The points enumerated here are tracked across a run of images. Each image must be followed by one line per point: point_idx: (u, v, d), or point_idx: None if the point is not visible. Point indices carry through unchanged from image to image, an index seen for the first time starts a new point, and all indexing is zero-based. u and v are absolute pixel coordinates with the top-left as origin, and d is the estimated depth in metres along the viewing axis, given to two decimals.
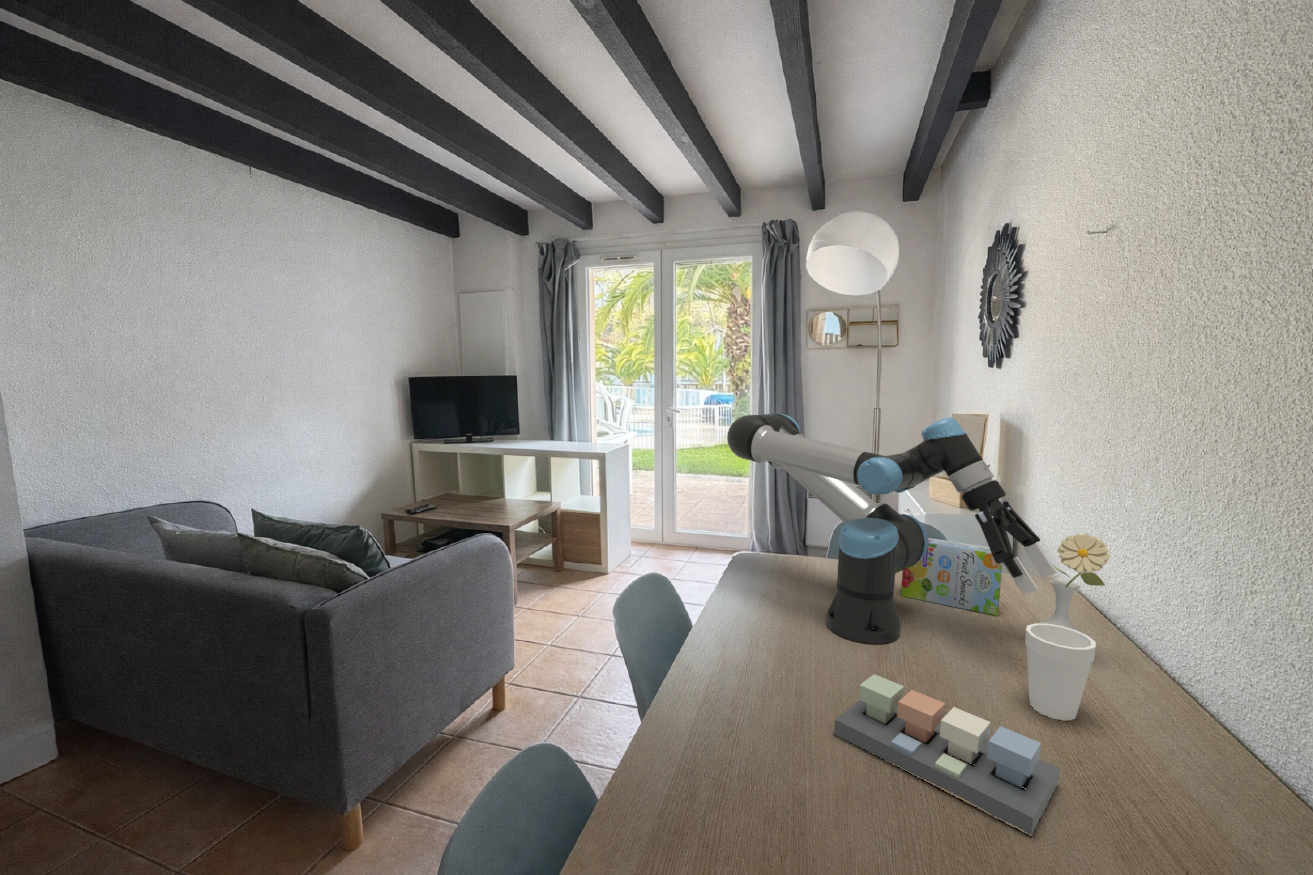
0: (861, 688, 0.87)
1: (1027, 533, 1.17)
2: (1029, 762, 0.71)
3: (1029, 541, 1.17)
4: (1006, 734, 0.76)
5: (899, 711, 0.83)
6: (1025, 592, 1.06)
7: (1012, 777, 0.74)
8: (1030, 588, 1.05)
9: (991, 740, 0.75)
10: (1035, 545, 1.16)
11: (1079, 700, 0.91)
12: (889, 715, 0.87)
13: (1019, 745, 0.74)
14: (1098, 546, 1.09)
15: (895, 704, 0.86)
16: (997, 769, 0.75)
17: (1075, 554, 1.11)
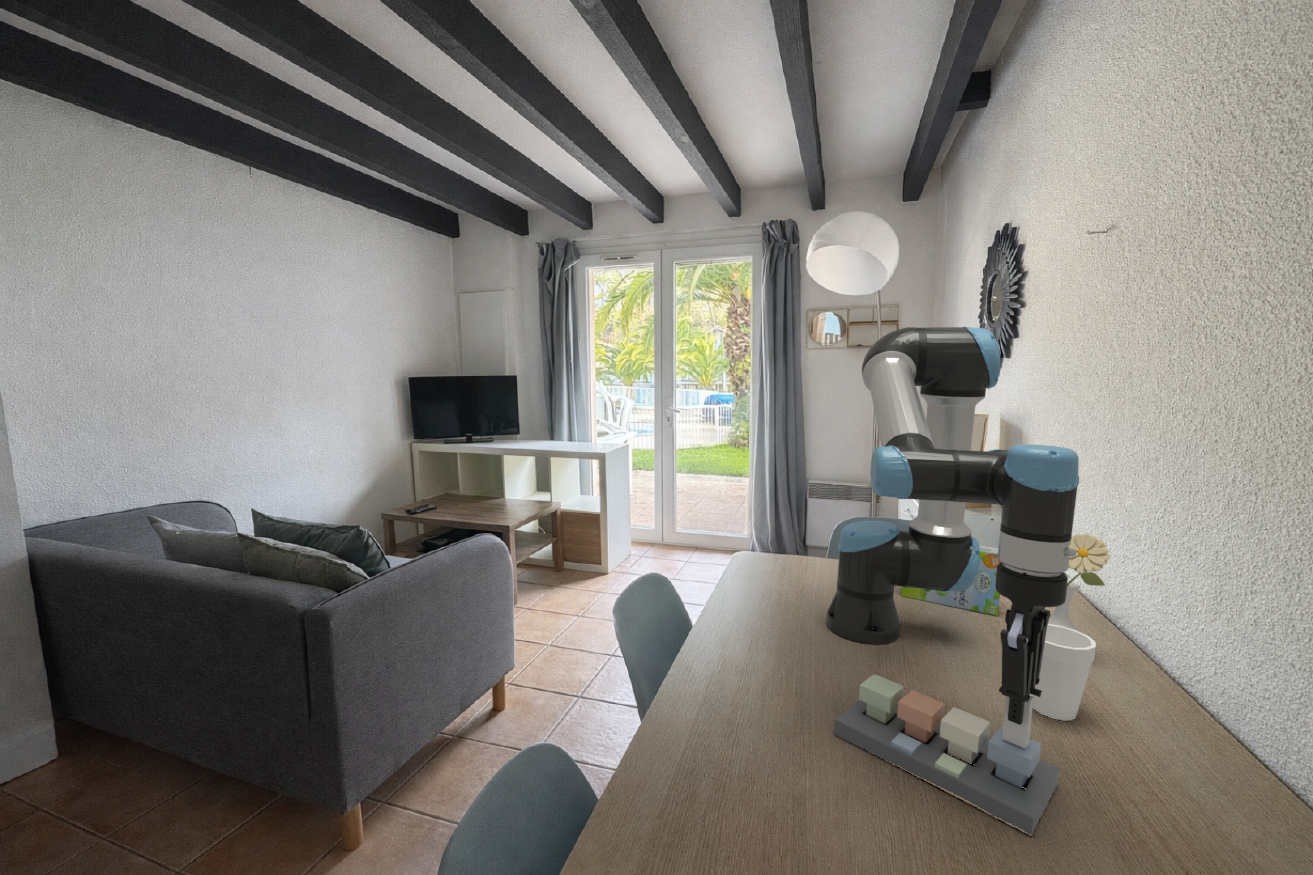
0: (861, 688, 0.87)
1: (1035, 673, 0.73)
2: (1029, 762, 0.71)
3: None
4: None
5: (899, 711, 0.83)
6: (1007, 739, 0.74)
7: (1012, 777, 0.74)
8: (1019, 741, 0.73)
9: (991, 740, 0.75)
10: None
11: (1079, 700, 0.91)
12: (889, 715, 0.87)
13: (1019, 746, 0.74)
14: (1098, 546, 1.09)
15: (895, 704, 0.86)
16: (997, 769, 0.75)
17: None
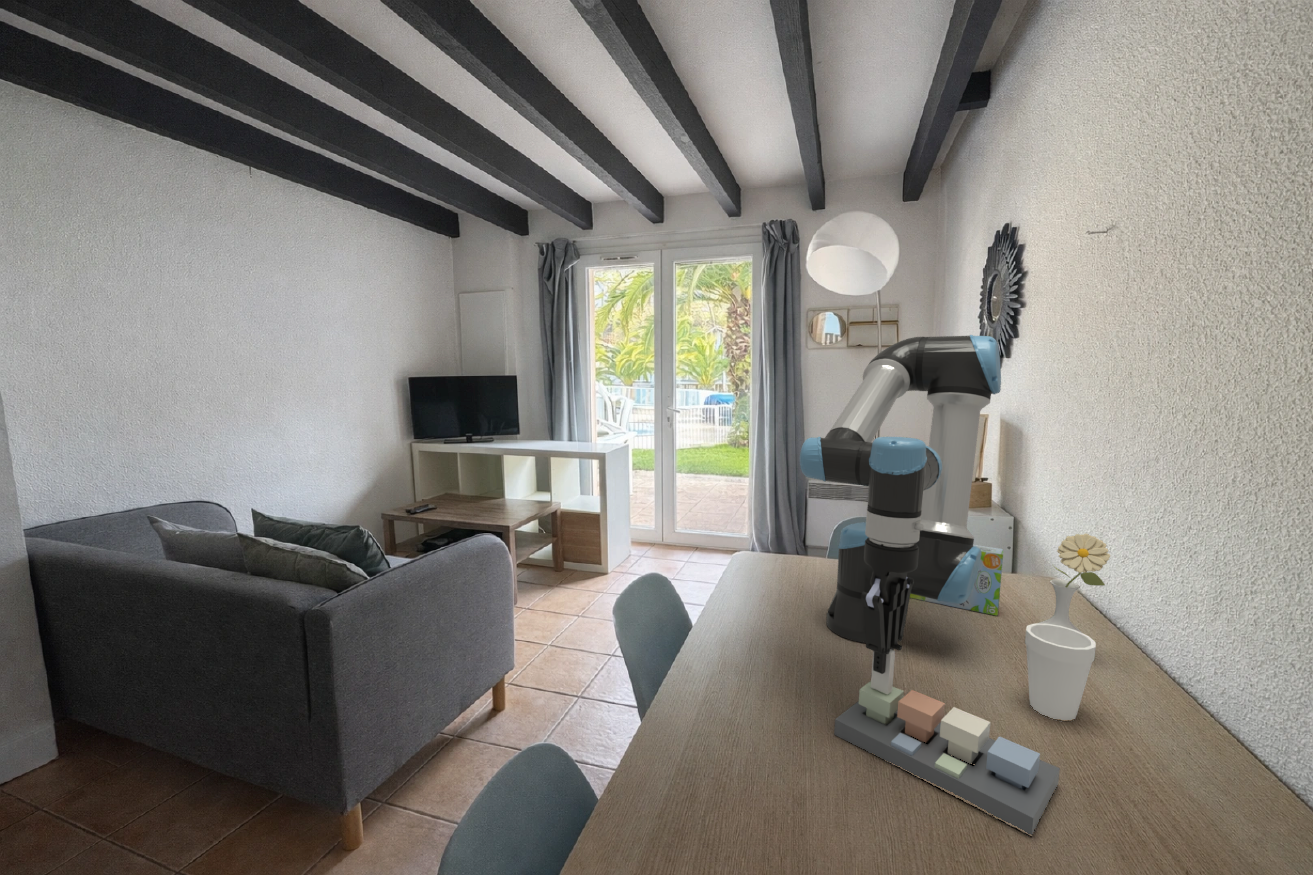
0: (861, 693, 0.87)
1: (896, 630, 0.86)
2: (1028, 773, 0.71)
3: None
4: (1005, 744, 0.76)
5: (899, 711, 0.83)
6: (874, 687, 0.87)
7: None
8: (882, 688, 0.86)
9: (990, 750, 0.75)
10: None
11: (1079, 700, 0.91)
12: (889, 720, 0.87)
13: (1018, 756, 0.74)
14: (1098, 546, 1.09)
15: (895, 709, 0.86)
16: None
17: (1075, 555, 1.11)
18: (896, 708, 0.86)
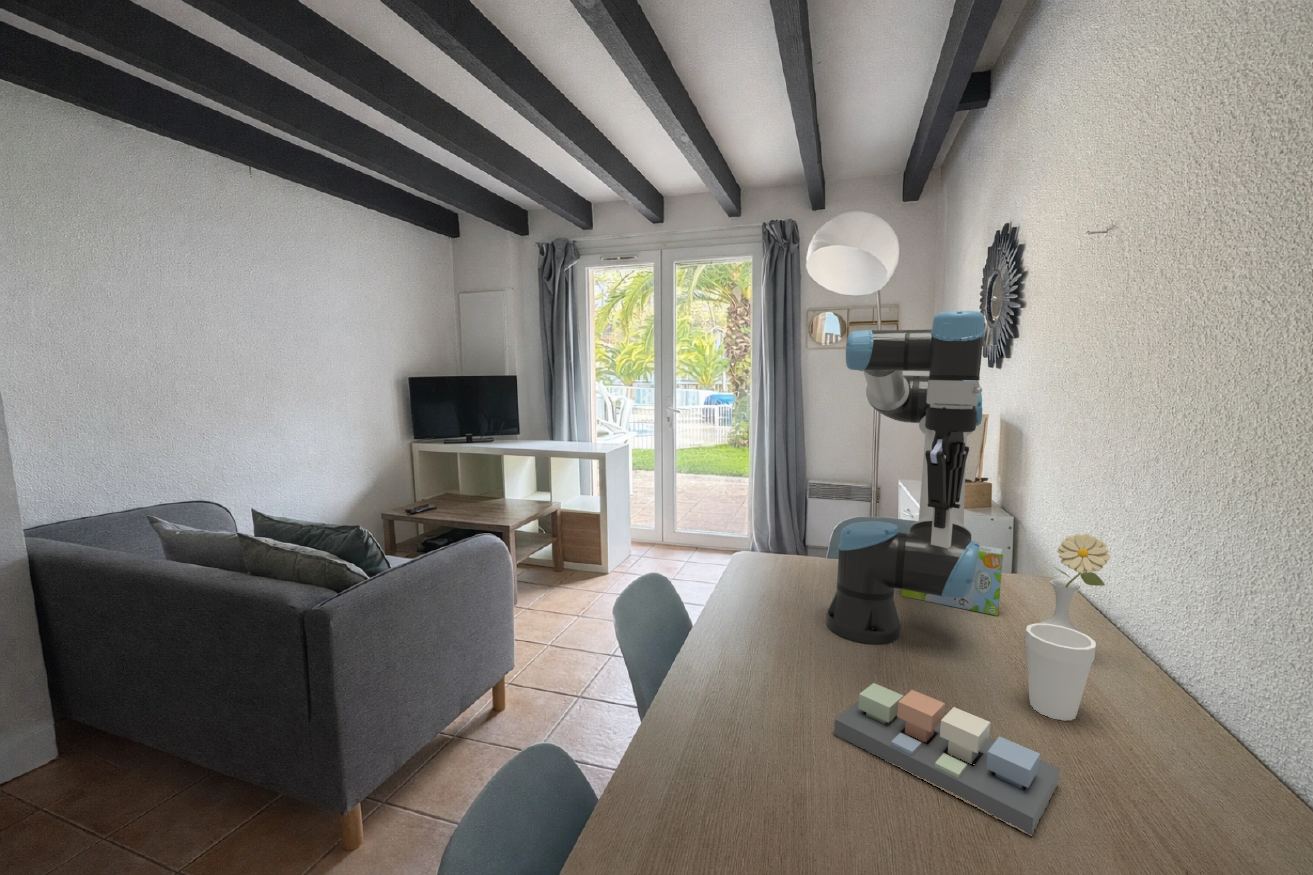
0: (860, 697, 0.88)
1: (955, 490, 0.95)
2: (1028, 773, 0.71)
3: None
4: (1005, 744, 0.76)
5: (899, 711, 0.83)
6: (934, 544, 0.96)
7: None
8: (942, 543, 0.95)
9: (990, 750, 0.75)
10: None
11: (1079, 700, 0.91)
12: None
13: (1018, 756, 0.74)
14: (1098, 546, 1.09)
15: (894, 713, 0.86)
16: None
17: (1075, 555, 1.11)
18: (896, 713, 0.86)
